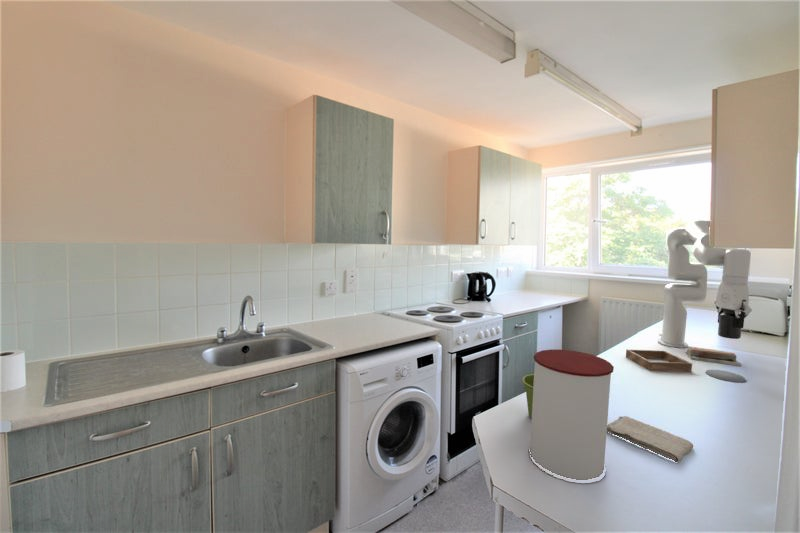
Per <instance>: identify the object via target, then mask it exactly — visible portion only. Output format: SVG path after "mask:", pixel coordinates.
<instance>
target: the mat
mask: <svg viewBox="0 0 800 533" xmlns="http://www.w3.org/2000/svg"><path fill="white" fill-rule="evenodd" d="M705 374H706V375H708V376H709V377H711V378H715V379H718V380H721V381H726V382H732V383H744V382H746V378H745V377H744V376H743V375H740V374H737V373H734V372H731V371H726V370H721V369H706V370H705Z"/></svg>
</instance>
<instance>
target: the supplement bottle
mask: <svg viewBox="0 0 800 533" xmlns="http://www.w3.org/2000/svg"><path fill="white" fill-rule="evenodd" d="M739 310H740V309H739ZM723 311H724V312H723V313H721V314H720V315H719V323H718V328H717V329H718V330H717V335H718V337H721V338H724V339H731V340H738V339H741V337H742V329H743V328H734V318H735V317H736V315H735V311H733V310H728V309H724V308H723ZM740 313H741V312H739V314H740ZM736 318H737V317H736Z"/></svg>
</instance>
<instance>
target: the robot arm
mask: <svg viewBox="0 0 800 533" xmlns="http://www.w3.org/2000/svg"><path fill="white" fill-rule="evenodd" d="M710 221H711V220H704V219H703V220H700V219H699V220H698V219H697V220H692V221H691V222H689V223H688V224H687V225H686V227H674V228H671V229H670V230H669V231H668V232H667V233H666V237H665V244H666V248H667V250H668V251H667V252H668V262H667V276H668V278H669V280H671V281H675V282H691V283H692V284H691V283H669V284H666V285H665V286H664V288H663V292H662V294H663V302H664V304H663V305H664V306H663V318H662V331H661V333H658V336H659V337H660V338H659V339H657V343H658V344H660V345H662V346H666V347H671V348H679V347H680V348H682V349H683V348H684V347H685V348H689V344H688V343H687V342H685V340H686V338H685V337H686V328H687V319H688V312H687V311H688V310H687V309H686V307H685V306H684V305H683V304H702V303H704V302H705V300H706V298H707V292H708V291H707V289H708V288H707V287H708V270H707V268H706V266H707V267H711V266H712V267H722V275H721V276H722V277H721V282H719V285H718V289H717V292H716V298H715V301H714V306H715V308H716V310H717V311H716V312H717V313H718V314H717V323H718V324H719V315H720V314H721V313H723V312H724V311H723V308H724V309H728V310H733V311H735V315H736V317H737V318H736V317H735V318H734V328H742V329H744V324H745V319H746V318H747V316H749V314H751V312H752V311H753V309H752V308H751V307H750V305H749V303H750V302H749V301H750V300H749V299H750V298H749V297H750V294H749V293H750V292H749V286H748V283H749V273H750V262H751V251H750V250H749V249H743V248H742V249H741V248H735V247H715V248H714V247H710V246H709V227H710ZM686 246H693V247H692V252H693V256H694V258H695V260H697V261H698V262H690V256H691V255H690V252H689V250H688V249H687V247H686ZM739 309H740V310H739ZM739 312H740V313H739Z"/></svg>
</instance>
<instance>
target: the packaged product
mask: <svg viewBox="0 0 800 533" xmlns="http://www.w3.org/2000/svg"><path fill="white" fill-rule="evenodd" d="M684 353H686V354H685V355H686V356H687V357H688V358H689V359H690V360H693V359H694V361H700V360H701V361H702V362H708V363H715V364H716V363H717V364H724V365H729V366H730V365H731V366H738V367H741V366H742V363H741V362H740V361H738V359H737V354H736V353H734V352H730V351H723V350H717V349H712V348H711V349H709V348H704V347H697V346H696V347H695V346H688V347H687V349H686V351H685V352H684ZM701 361H700V362H701Z"/></svg>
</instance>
